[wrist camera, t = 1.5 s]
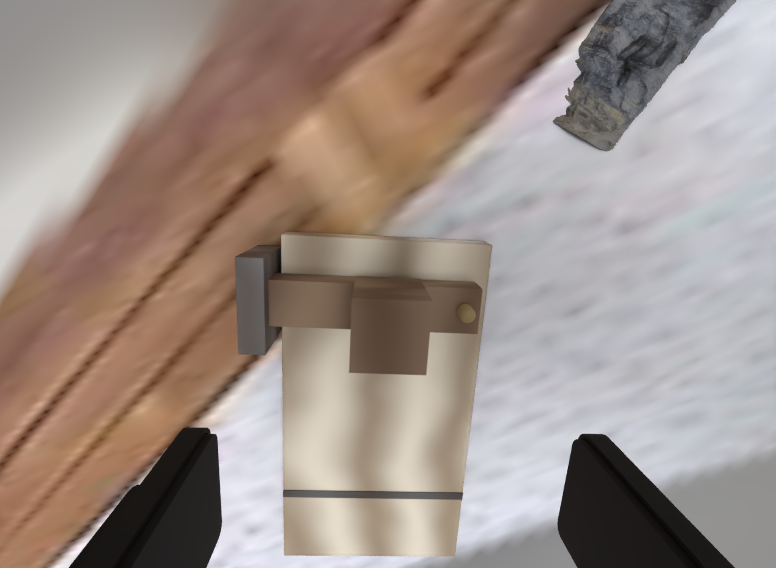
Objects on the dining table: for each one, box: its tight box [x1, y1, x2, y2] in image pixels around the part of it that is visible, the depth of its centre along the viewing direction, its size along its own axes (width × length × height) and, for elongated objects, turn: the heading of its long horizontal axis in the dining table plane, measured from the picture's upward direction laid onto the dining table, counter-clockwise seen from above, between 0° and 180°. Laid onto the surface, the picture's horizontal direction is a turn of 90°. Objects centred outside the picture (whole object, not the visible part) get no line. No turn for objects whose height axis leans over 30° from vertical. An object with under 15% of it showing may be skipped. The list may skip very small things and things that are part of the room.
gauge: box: [235, 245, 483, 375], centre depth 24 cm, size 15×6×9 cm, turn 87°
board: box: [281, 231, 492, 556], centre depth 30 cm, size 14×26×2 cm, turn 177°
